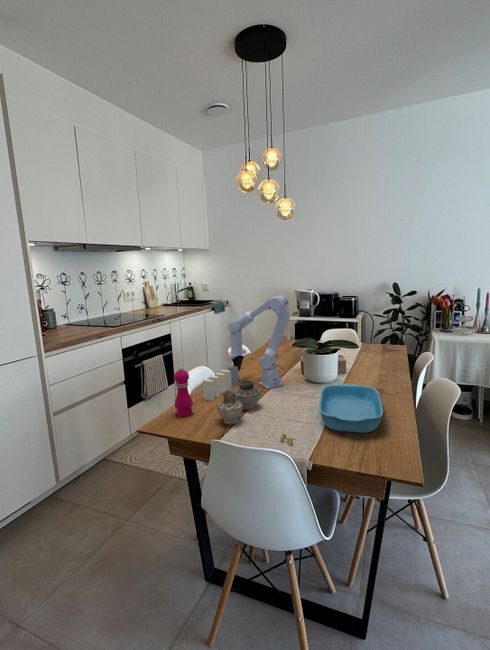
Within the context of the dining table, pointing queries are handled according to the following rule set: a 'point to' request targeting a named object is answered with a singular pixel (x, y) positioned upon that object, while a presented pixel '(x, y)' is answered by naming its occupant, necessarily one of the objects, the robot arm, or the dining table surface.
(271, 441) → the dining table surface
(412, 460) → the dining table surface
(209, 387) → the ivory tile
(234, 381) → the slate tile
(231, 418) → the pottery
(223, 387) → the tile
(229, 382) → the ivory tile
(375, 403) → the casserole dish
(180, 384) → the pepper mill
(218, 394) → the ivory tile
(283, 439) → the olive bow shape
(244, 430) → the dining table surface
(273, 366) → the robot arm
